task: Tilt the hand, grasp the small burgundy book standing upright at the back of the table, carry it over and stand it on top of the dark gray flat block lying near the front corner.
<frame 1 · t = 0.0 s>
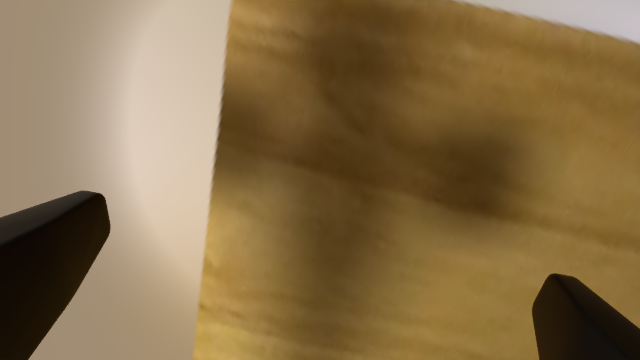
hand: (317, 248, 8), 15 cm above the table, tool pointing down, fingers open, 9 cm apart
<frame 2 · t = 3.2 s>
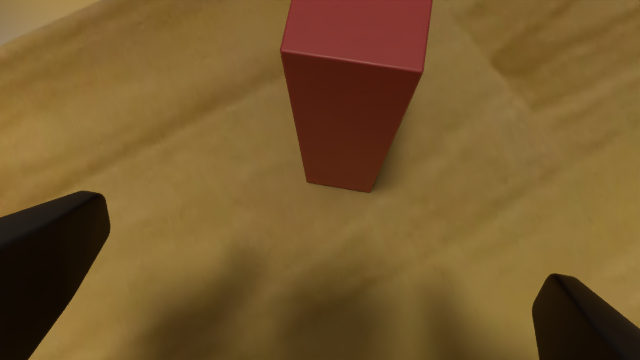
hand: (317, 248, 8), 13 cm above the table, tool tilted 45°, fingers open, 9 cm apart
small book: (349, 120, 23), on the table
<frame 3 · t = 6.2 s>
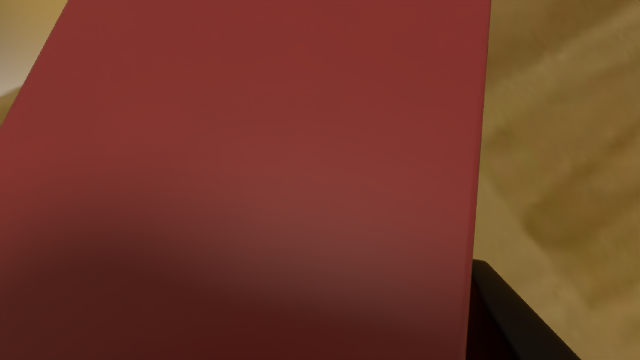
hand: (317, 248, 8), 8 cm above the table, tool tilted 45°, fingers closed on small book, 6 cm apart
small book: (304, 322, 15), on the table, touching gripper
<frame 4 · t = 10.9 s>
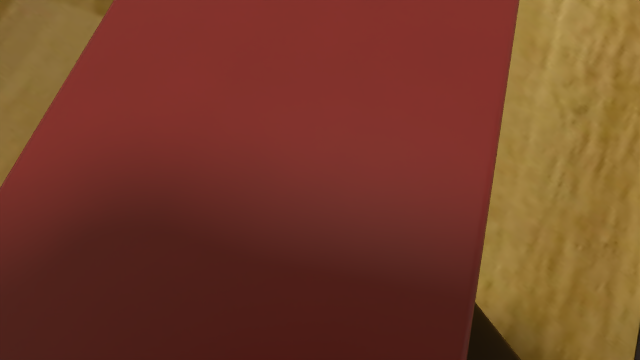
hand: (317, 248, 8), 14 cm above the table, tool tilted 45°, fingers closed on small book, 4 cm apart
small book: (328, 321, 15), point 7 cm above the table, tilted 9°, touching gripper
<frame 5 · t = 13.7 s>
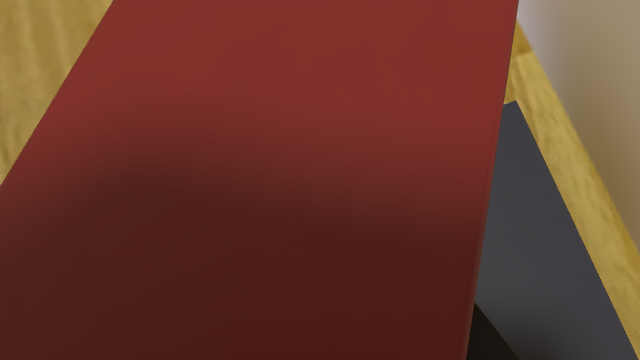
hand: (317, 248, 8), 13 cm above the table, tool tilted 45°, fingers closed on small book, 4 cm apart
dark gray flat block: (453, 318, 21), on the table
small book: (328, 320, 15), point 6 cm above the table, tilted 9°, touching gripper
when the fingers open (11 cm above the table, at t = 16.0 s): small book stays where it is, resting on dark gray flat block.
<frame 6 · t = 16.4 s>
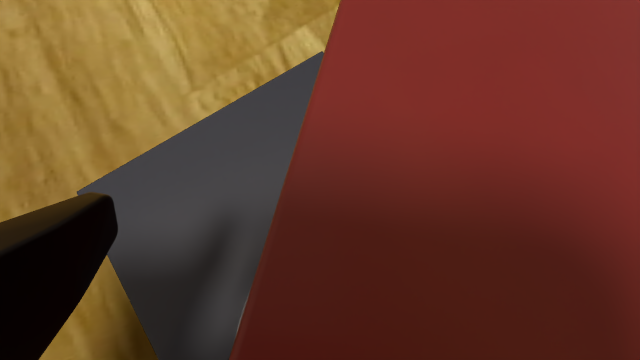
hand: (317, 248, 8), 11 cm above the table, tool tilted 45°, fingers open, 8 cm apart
dark gray flat block: (317, 301, 19), on the table, touching small book
small book: (331, 323, 15), point 4 cm above the table, tilted 7°, touching dark gray flat block, gripper
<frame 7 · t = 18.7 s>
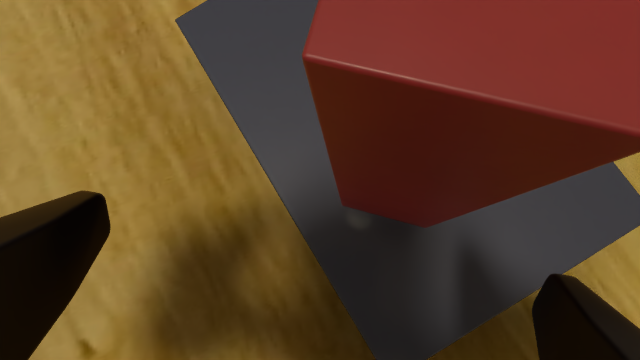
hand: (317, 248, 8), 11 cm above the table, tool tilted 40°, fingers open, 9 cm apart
dark gray flat block: (387, 129, 20), on the table, touching small book
small book: (407, 124, 17), point 3 cm above the table, touching dark gray flat block
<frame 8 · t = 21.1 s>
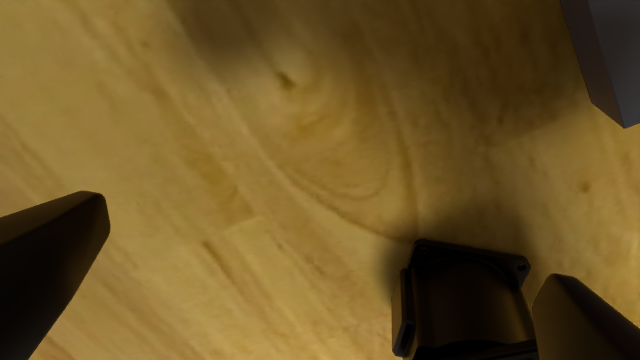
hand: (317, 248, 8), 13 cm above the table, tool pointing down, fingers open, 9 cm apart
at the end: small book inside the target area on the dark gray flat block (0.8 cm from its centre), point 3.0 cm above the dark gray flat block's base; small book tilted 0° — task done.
